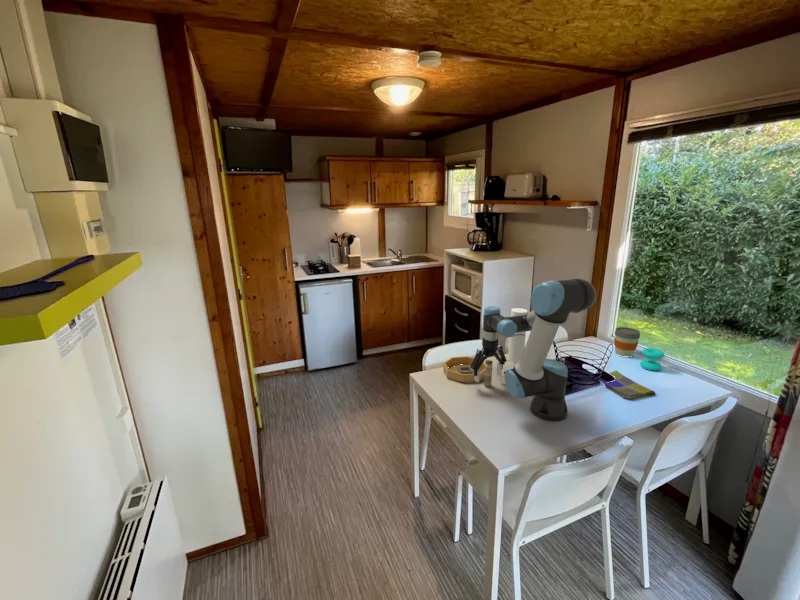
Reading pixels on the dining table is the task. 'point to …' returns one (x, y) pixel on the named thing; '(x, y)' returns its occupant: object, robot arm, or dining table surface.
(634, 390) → the dish towel
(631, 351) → the reusable coffee cup
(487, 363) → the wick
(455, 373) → the octagonal shallow tray
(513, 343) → the container
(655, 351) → the donuts
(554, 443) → the dining table surface
